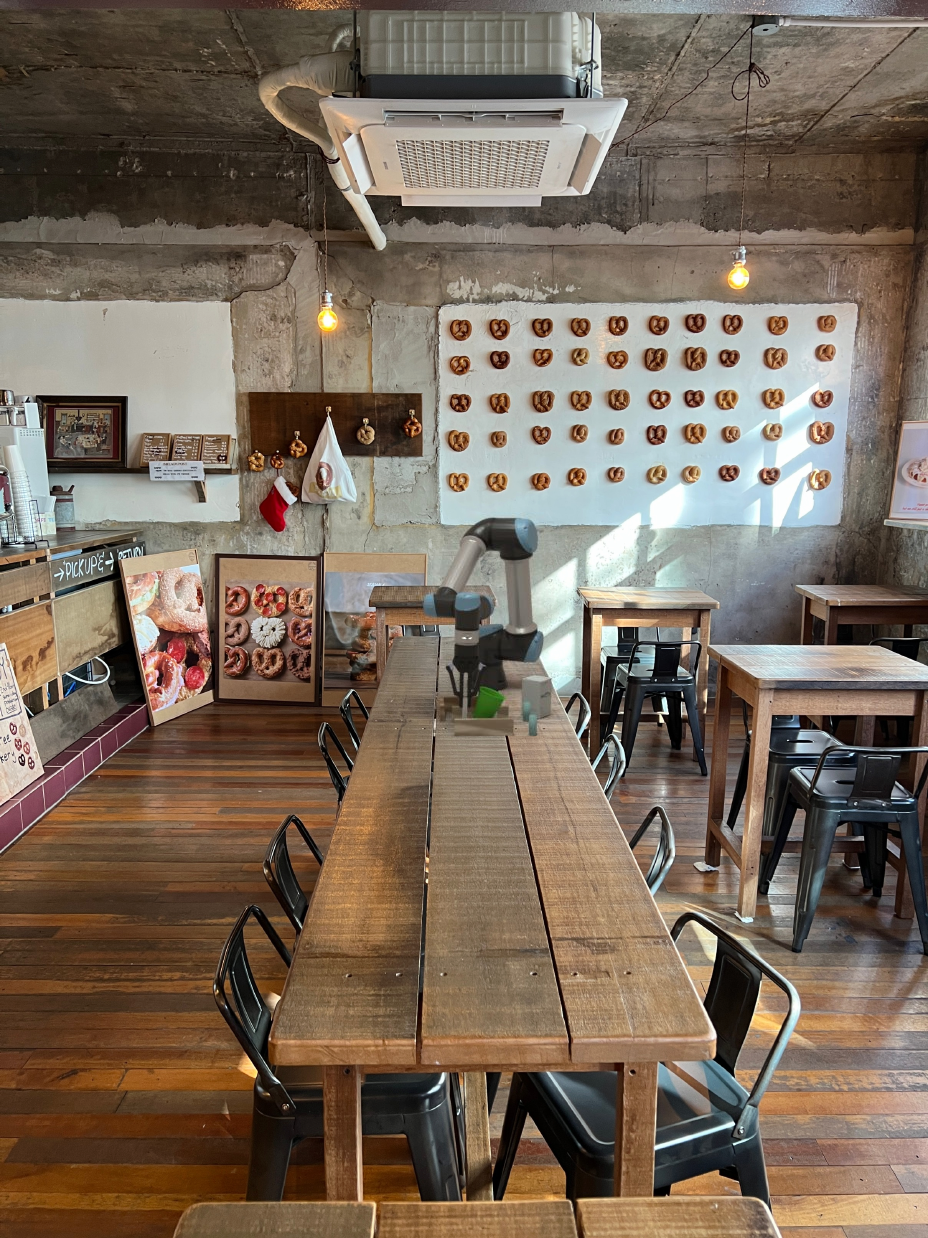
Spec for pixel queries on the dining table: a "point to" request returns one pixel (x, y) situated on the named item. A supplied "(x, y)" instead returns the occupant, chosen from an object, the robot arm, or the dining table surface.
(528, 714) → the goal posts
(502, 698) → the cup
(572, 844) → the dining table surface
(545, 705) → the supplement box
